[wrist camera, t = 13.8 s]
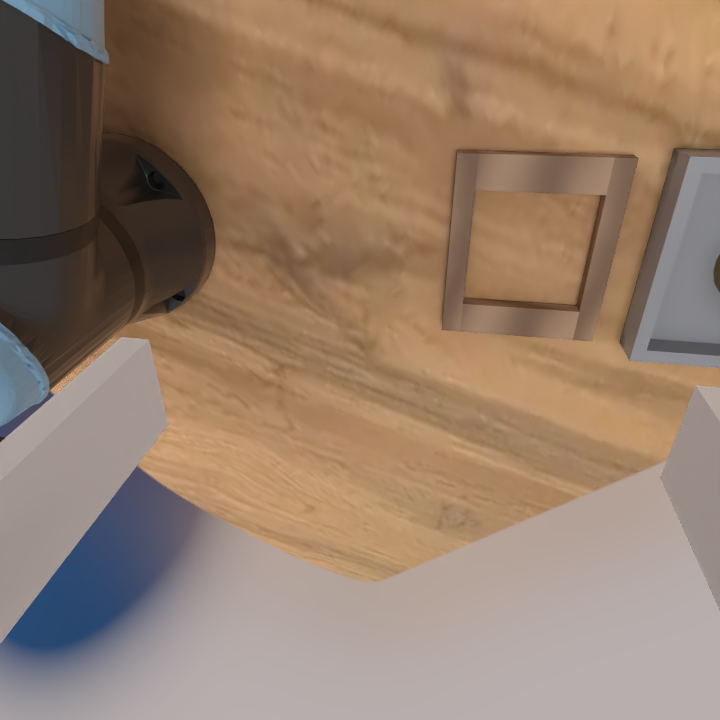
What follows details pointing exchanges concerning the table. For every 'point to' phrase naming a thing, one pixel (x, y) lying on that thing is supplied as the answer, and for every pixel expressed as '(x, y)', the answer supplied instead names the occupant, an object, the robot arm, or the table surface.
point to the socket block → (537, 176)
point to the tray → (680, 269)
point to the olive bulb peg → (717, 273)
